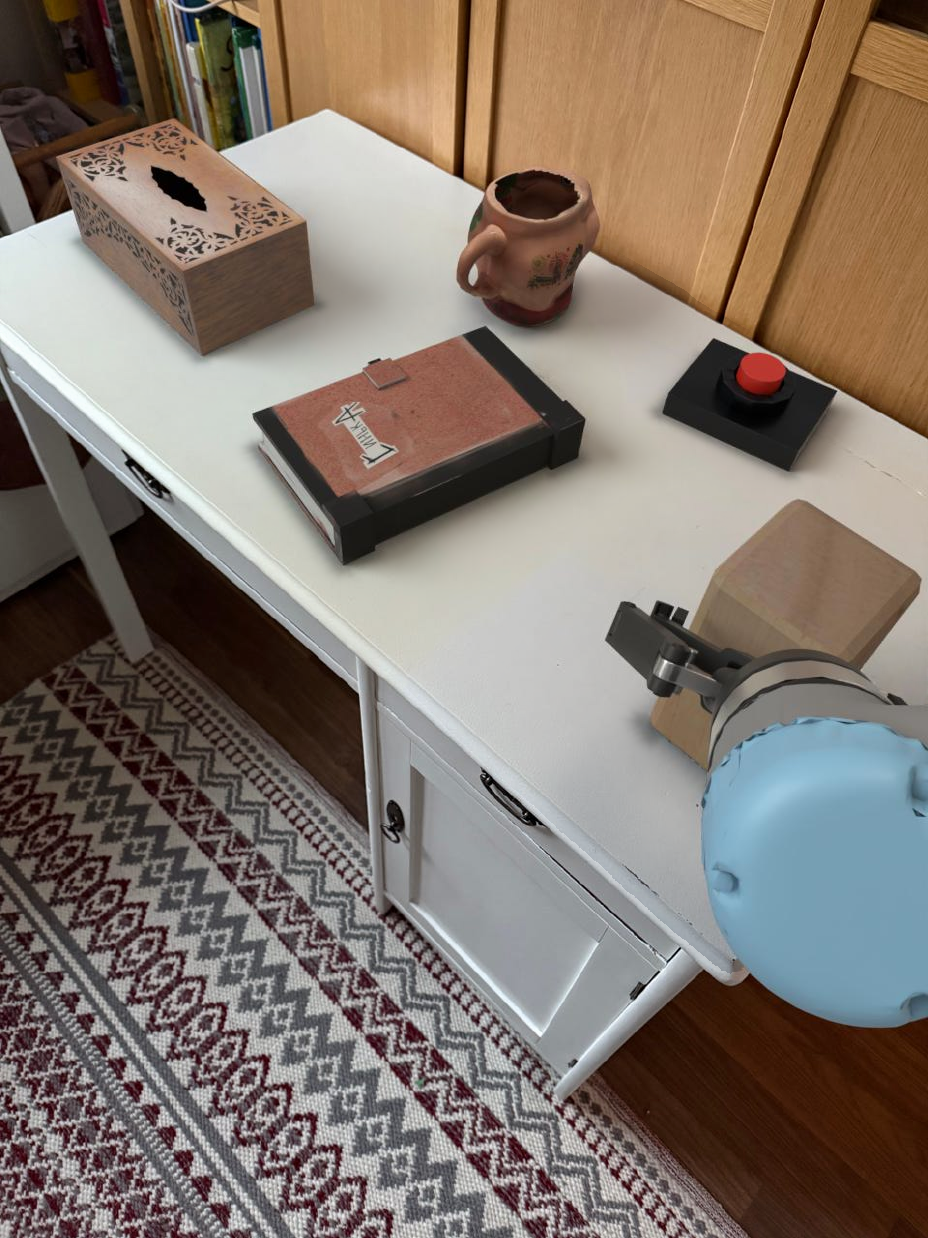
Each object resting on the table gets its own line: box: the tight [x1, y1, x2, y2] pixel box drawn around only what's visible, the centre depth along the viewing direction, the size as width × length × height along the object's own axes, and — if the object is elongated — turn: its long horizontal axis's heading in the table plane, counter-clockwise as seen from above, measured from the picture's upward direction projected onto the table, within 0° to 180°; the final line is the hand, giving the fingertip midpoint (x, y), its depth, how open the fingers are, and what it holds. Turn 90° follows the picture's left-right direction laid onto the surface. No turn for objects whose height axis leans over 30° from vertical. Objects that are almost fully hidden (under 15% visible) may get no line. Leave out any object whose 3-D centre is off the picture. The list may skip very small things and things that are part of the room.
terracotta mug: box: [455, 166, 601, 327], centre depth 97 cm, size 20×12×14 cm, turn 141°
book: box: [251, 325, 587, 566], centre depth 87 cm, size 26×18×5 cm
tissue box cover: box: [55, 117, 316, 357], centre depth 99 cm, size 26×14×10 cm, turn 41°
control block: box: [662, 337, 838, 472], centre depth 92 cm, size 14×11×4 cm
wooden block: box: [649, 498, 923, 773], centre depth 64 cm, size 10×10×20 cm
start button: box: [736, 352, 786, 395], centre depth 90 cm, size 4×4×2 cm
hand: (777, 670), depth 57 cm, fingers open, 13 cm apart
